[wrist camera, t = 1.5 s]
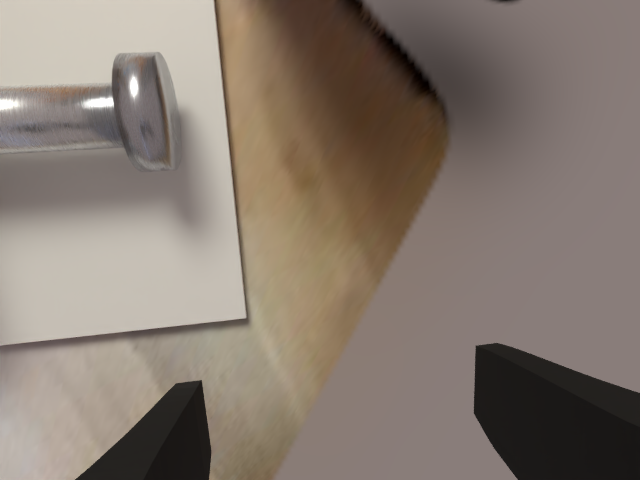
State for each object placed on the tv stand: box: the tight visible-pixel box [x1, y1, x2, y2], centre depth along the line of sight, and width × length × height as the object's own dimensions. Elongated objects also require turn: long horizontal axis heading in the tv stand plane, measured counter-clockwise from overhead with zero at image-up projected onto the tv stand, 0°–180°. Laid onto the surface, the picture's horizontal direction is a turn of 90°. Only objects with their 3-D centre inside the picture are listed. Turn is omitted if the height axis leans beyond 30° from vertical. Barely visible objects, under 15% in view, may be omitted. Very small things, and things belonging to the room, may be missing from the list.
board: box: [0, 0, 247, 345], centre depth 16 cm, size 16×17×1 cm
